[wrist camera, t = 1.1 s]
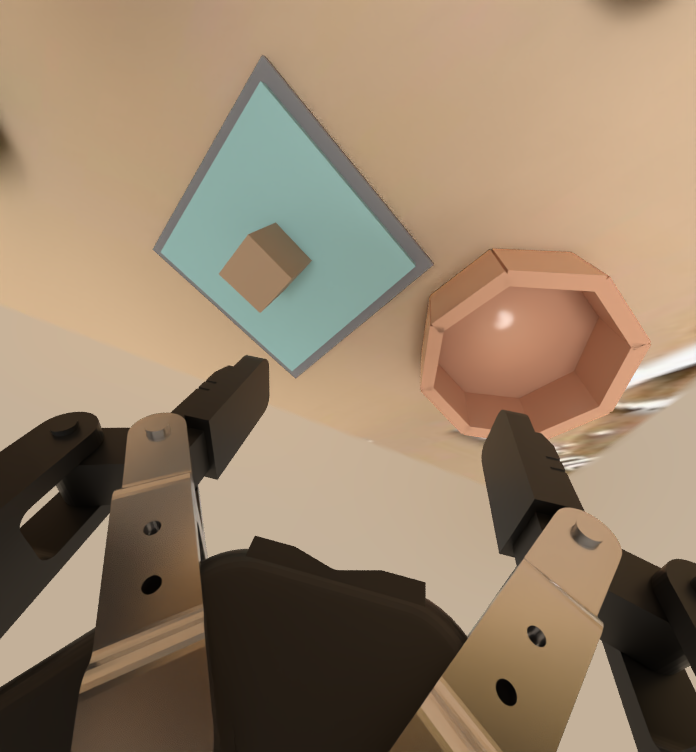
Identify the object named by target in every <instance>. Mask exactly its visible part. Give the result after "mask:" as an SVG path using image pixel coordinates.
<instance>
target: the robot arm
mask: <svg viewBox="0 0 696 752" xmlns="http://www.w3.org/2000/svg"><path fill="white" fill-rule="evenodd" d="M268 402H269V363H268V360H267V359H263V358H258V357H253V356H248V355H245V356H244V357H243V358H242V359H241V360H240V361H239V362H238V363H237V364H236V365H235V366H234V367H233V366H227V367H225V368H222V369H220V370H218V371H216V372H214V373H213V374H212V375H211V376H210V377H209V378H208V379H207V380H206V382H204V383H202V385H200V386H199V389H196V390H195V391H194V392H193V393H192V394H190V395H189V396H188V397H187V398H186V399H185V400H184V401H183V402H182V403H181V404H179V406H177V407H176V408H175V409H174V410H173V411H172V412H171V413H158V414H153V415H149V416H147V417H144V418H142V419H140V420H139V421H137V422H136V423H135V424H134V425H132V426H131V428H101V426H100V423H99V420H98V418H97V417H96V416H95V415H93V414H91V413H87V412H72V413H66V414H62V415H59V416H56V417H53V418H51V419H49V420H47V421H45V422H43V423H42V424H40V425H39V426H37V427H36V428H34V429H33V430H31V431H30V432H28V433H27V434H25V435H24V436H23V437H21V438H20V439H18V440H17V441H15V442H14V443H12V444H11V445H9V446H8V447H7V448H5V449H4V450H2V451H1V452H0V638H1V637H2V636H3V635H4V634H5V633H6V631H7V630H8V629H9V628H10V627H11V626H12V625H13V624H14V622H15V621H16V620H17V619H18V618H19V617H20V616H21V614H22V613H23V612H24V611H25V610H26V608H27V607H28V606H29V605H30V604H31V603H32V602H33V600H34V599H35V598H36V597H37V596H38V595H39V593H41V591H42V590H43V589H44V588H45V587H46V586H47V584H48V583H49V582H50V581H51V580H52V578H54V576H55V575H56V574H57V573H58V572H59V571H60V569H61V568H62V567H63V566H64V565H65V564H66V562H67V561H68V560H69V559H70V558H71V557H72V556H73V555H74V553H75V552H76V551H77V550H78V549H79V548H80V546H81V545H82V544H83V543H84V542H85V540H87V538H88V537H89V536H90V535H91V534H92V532H93V531H94V530H95V529H96V528H97V527H98V526H99V524H100V523H101V522H102V521H103V520H104V519H105V518H106V517H107V515H108V514H109V513H110V516H109V525H108V532H107V540H106V548H105V556H104V565H103V573H102V580H101V589H100V596H99V605H98V612H97V620H96V627H95V628H94V629H92V630H91V631H89V632H87V633H86V634H84V635H83V636H81V637H79V638H78V639H76V640H75V641H73V642H72V643H70V644H68V645H67V646H65V647H64V648H62V649H60V650H59V651H57V652H56V653H54V654H52V655H51V656H49V657H48V658H46V659H44V660H43V661H41V662H40V663H38V664H37V665H35V666H33V667H32V668H30V669H28V670H27V671H25V672H24V673H22V674H21V675H19V676H17V677H16V678H14V679H13V680H11V681H9V682H8V683H6V684H5V685H3V686H1V687H0V752H556V751H557V749H558V746H559V743H560V741H561V738H562V736H563V733H564V730H565V728H566V725H567V723H568V720H569V717H570V715H571V712H572V710H573V707H574V704H575V702H576V699H577V697H578V694H579V691H580V689H581V686H582V683H583V681H584V678H585V676H586V673H587V670H588V667H589V665H590V663H591V660H592V657H593V655H594V652H595V650H596V647H597V644H598V642H599V639H600V640H602V643H603V645H604V649H605V652H606V654H607V658H608V661H609V664H610V667H611V670H612V673H613V676H614V679H615V682H616V685H617V688H618V691H619V694H620V698H621V700H622V704H623V707H624V709H625V713H626V716H627V719H628V722H629V725H630V728H631V731H632V734H633V737H634V740H635V743H636V746H637V749H638V752H696V692H695V689H694V687H693V685H692V683H691V681H690V679H689V677H688V675H687V673H686V671H685V668H687V667H689V666H691V668H692V670H693V672H694V673H695V676H696V563H693V562H690V561H687V560H682V559H674V560H671V561H669V562H668V563H667V564H666V565H664V566H663V567H662V568H659V567H658V566H655V565H653V564H651V563H649V562H647V561H645V560H643V559H641V558H639V557H637V556H635V555H633V554H631V553H629V552H627V551H625V550H623V549H621V546H620V543H619V541H618V540H617V538H616V536H615V535H614V534H613V533H612V531H611V530H610V529H609V528H608V527H607V526H606V525H605V524H603V523H602V522H601V521H600V520H598V519H597V518H595V517H594V516H592V515H590V514H588V513H586V512H585V511H584V509H583V507H582V505H581V503H580V501H579V498H578V496H577V495H576V492H575V490H574V488H573V486H572V484H571V482H570V479H569V477H568V475H567V473H565V469H564V467H563V465H562V462H560V458H559V456H558V454H557V452H556V450H555V448H554V446H553V445H552V444H551V443H550V442H549V441H548V440H547V438H546V437H545V436H544V435H543V434H542V433H537V432H535V430H534V428H533V426H532V423H531V421H530V419H529V416H528V415H526V414H522V413H517V412H512V411H508V410H501V411H500V412H499V413H498V415H497V417H496V419H495V421H494V424H493V426H492V428H491V430H490V432H489V435H488V437H487V439H486V441H485V443H484V446H483V450H482V466H483V471H484V476H485V482H486V487H487V492H488V497H489V501H490V508H491V513H492V518H493V523H494V528H495V533H496V538H497V544H498V549H499V553H500V554H503V555H507V556H511V557H515V560H516V564H517V567H516V568H515V570H514V571H513V572H512V574H511V575H510V576H509V578H508V579H507V581H506V582H505V584H504V585H503V586H502V588H501V589H500V591H499V592H498V593H497V595H496V596H495V598H494V599H493V600H492V602H491V603H490V605H489V606H488V608H487V609H486V611H485V612H484V613H483V615H482V616H481V618H480V619H479V620H478V622H477V623H476V624H475V626H474V627H473V629H472V630H471V632H470V633H469V634H468V636H466V635H465V633H464V632H463V631H462V629H461V628H460V627H459V626H458V625H457V624H456V623H455V621H453V619H452V618H451V617H450V616H448V615H447V614H446V613H445V612H444V611H443V610H442V609H441V608H439V607H438V606H437V605H435V604H434V603H433V602H431V601H430V600H428V599H426V598H425V582H422V581H418V580H415V579H410V578H407V577H404V576H400V575H396V574H393V573H389V572H385V571H382V570H378V571H377V570H371V571H369V570H367V571H365V570H364V571H363V570H362V571H361V570H348V571H347V570H334V569H332V568H330V567H328V566H327V565H325V564H323V563H322V562H320V561H318V560H317V559H315V558H313V557H311V556H310V555H308V554H306V553H305V552H303V551H301V550H300V549H298V548H296V547H294V546H291V545H287V544H283V543H279V542H275V541H272V540H269V539H265V538H261V537H257V536H255V537H254V539H253V541H252V543H251V545H250V547H249V549H240V550H232V551H227V552H224V553H220V554H217V555H215V556H212V557H209V558H208V555H207V549H206V543H205V535H204V527H203V519H202V511H201V502H200V494H199V488H198V484H199V483H200V481H201V480H202V479H203V477H204V476H205V477H209V478H213V479H218V478H219V477H220V475H221V474H222V472H223V471H224V470H225V468H226V467H227V465H228V464H229V462H230V461H231V459H232V458H233V457H234V455H235V454H236V452H237V451H238V449H239V448H240V446H241V445H242V444H243V442H244V441H245V439H246V438H247V436H248V435H249V434H250V432H251V431H252V429H253V428H254V426H255V425H256V424H257V422H258V421H259V419H260V418H261V416H262V415H263V413H264V412H265V410H266V408H267V405H268ZM55 485H56V486H57V488H58V490H59V493H58V494H57V495H55V496H54V497H53V498H52V499H51V500H50V501H49V502H48V503H47V504H46V505H45V506H43V508H41V509H40V510H39V511H38V512H37V513H36V514H35V515H34V516H33V517H32V518H30V519H29V520H28V521H27V522H26V523H25V524H24V525H23V526H22V527H21V528H20V523H21V520H22V518H23V516H24V515H25V513H26V512H27V511H28V510H29V509H30V508H31V507H32V506H33V505H34V504H35V503H36V502H37V501H39V500H40V499H41V498H42V497H43V496H44V495H45V494H46V493H48V491H50V490H51V489H52V488H53V487H54V486H55Z"/></svg>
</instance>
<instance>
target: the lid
mask: <svg viewBox="0 0 696 752" xmlns="http://www.w3.org/2000/svg"><path fill="white" fill-rule="evenodd" d="M161 253H162V254H163V255H164V256H165V257H166V258H167V259H168V260H170V261H171V262H172V263H173V264H174V265H175V266H176V267H177V268H178V269H180V270H181V271H182V272H183V273H184V274H185V275H186V276H187V277H188V278H189V279H191V280H192V281H193V282H194V283H195V284H196V285H197V286H198V287H199V288H200V289H202V290H203V291H204V292H205V293H206V294H207V295H208V296H209V297H210V298H211V299H213V300H214V301H215V302H216V303H217V304H218V305H219V306H220V307H221V308H222V309H224V310H225V311H226V312H227V313H228V314H229V315H230V316H231V317H232V318H234V319H235V320H236V321H237V322H238V323H239V324H240V325H241V326H242V327H243V328H245V329H246V330H247V331H248V332H249V333H250V334H251V335H252V336H253V337H254V338H256V339H257V340H258V341H259V342H260V343H261V344H262V345H263V346H264V347H265V348H267V349H268V350H269V351H270V352H271V353H272V354H273V355H274V356H275V357H277V358H278V359H279V360H280V361H281V362H282V363H283V364H284V365H285V366H286V367H288V368H289V369H290V370H291V371H293V370H294V369H295V368H297V367H298V366H299V365H300V364H301V363H302V362H304V361H305V360H306V359H307V358H308V357H309V356H311V355H312V354H313V353H314V352H315V351H317V350H318V349H319V348H320V347H321V346H322V345H324V344H325V343H326V342H327V341H328V340H329V339H331V338H332V337H333V336H334V335H335V334H337V333H338V332H339V331H340V330H341V329H342V328H344V327H345V326H346V325H347V324H348V323H349V322H351V321H352V320H353V319H354V318H355V317H357V316H358V315H359V314H360V313H361V312H362V311H364V310H365V309H366V308H367V307H368V306H369V305H371V304H372V303H373V302H374V301H375V300H377V299H378V298H379V297H380V296H381V295H382V294H384V293H385V292H386V291H387V290H388V289H389V288H391V287H392V286H393V285H394V284H395V283H397V282H398V281H399V280H400V279H401V278H402V277H404V276H405V275H406V274H407V273H408V272H410V271H411V270H412V269H413V268H414V267H415V265H416V264H415V262H414V261H413V260H412V259H411V258H410V256H409V255H408V254H407V253H406V252H405V250H404V249H403V248H402V247H401V246H400V244H399V243H398V242H397V241H396V240H395V238H394V237H393V236H392V235H391V234H390V232H389V231H388V230H387V229H386V228H385V226H384V225H383V224H382V223H381V222H380V220H379V219H378V218H377V217H376V216H375V214H374V213H373V212H372V211H371V210H370V208H369V207H368V206H367V205H366V204H365V202H364V201H363V200H362V199H361V198H360V196H359V195H358V194H357V193H356V192H355V190H354V189H353V188H352V187H351V186H350V184H349V183H348V182H347V181H346V180H345V178H344V177H343V176H342V175H341V174H340V172H339V171H338V170H337V169H336V168H335V166H334V165H333V164H332V163H331V162H330V160H329V159H328V158H327V157H326V156H325V154H324V153H323V152H322V151H321V150H320V148H319V147H318V146H317V145H316V144H315V142H314V141H313V140H312V139H311V138H310V136H309V135H308V134H307V133H306V132H305V130H304V129H303V128H302V127H301V126H300V124H299V123H298V122H297V121H296V120H295V118H294V117H293V116H292V115H291V114H290V112H289V111H288V110H287V109H286V108H285V106H284V105H283V104H282V103H281V102H280V100H279V99H278V98H277V97H276V96H275V94H274V93H273V92H272V91H271V90H270V88H269V87H268V86H267V85H266V84H265V83H263V82H261V81H260V83H259V84H258V86H257V88H256V90H255V91H254V93H253V95H252V96H251V98H250V100H249V102H248V103H247V105H246V107H245V108H244V110H243V112H242V114H241V115H240V117H239V119H238V120H237V122H236V124H235V126H234V127H233V129H232V131H231V132H230V134H229V136H228V137H227V139H226V141H225V143H224V144H223V146H222V148H221V149H220V151H219V153H218V155H217V156H216V158H215V160H214V161H213V163H212V165H211V167H210V168H209V170H208V172H207V173H206V175H205V177H204V179H203V180H202V182H201V184H200V185H199V187H198V189H197V191H196V192H195V194H194V196H193V197H192V199H191V201H190V203H189V204H188V206H187V208H186V209H185V211H184V213H183V215H182V216H181V218H180V220H179V221H178V223H177V225H176V227H175V228H174V230H173V232H172V233H171V235H170V237H169V239H168V240H167V242H166V244H165V245H164V247H163V249H162V251H161Z"/></svg>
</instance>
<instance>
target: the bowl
mask: <svg viewBox="0 0 696 752" xmlns="http://www.w3.org/2000/svg"><path fill="white" fill-rule="evenodd" d="M430 296H431V297H429V303H428V310H427V317H426V324H425V331H424V338H423V344H422V351H421V381H420V390H421V392H422V393H423V394H424V395H425V396H426V397H427V398H428V399H429V400H430V401H431V402H432V403H433V404H434V406H435V407H436V408H437V409H438V410H439V411H440V412H441V413H442V414H443V415H444V416H445V417H446V418H447V419H448V420H449V421H450V422H451V423H452V424H453V425H454V426H455V427H456V428H457V429H458V430H459V431H460V433H461V434H463V433H464V435H468V436H476V437H483V438H487V437H488V435H489V432H490V430H491V428H492V426H493V424H494V421H495V419H496V417H497V415H498V413H499V412H500V411H501V410H508V411H512V412H517V413H522V414H526V415H528V416H529V419H530V421H531V423H532V426H533V428H534V430H535V432H537V433H542V434H543V435H544V436H545V437H546V438H547V439H549V438H552V437H554V436H557V435H559V434H561V433H564V432H566V431H569V430H571V429H573V428H576V427H578V426H581V425H583V424H585V423H588V422H590V421H593V420H595V419H598V418H600V417H602V416H605V415H607V414H610V412H609V411H611V412H612V411H613V410H614V408H615V406H616V404H617V403H618V401H619V399H620V397H621V396H622V394H623V392H624V391H625V389H626V387H627V385H628V384H629V382H630V380H631V378H632V377H633V375H634V373H635V371H636V370H637V368H638V366H639V365H640V363H641V361H642V359H643V358H644V356H645V354H646V352H647V351H648V349H649V347H650V346H651V344H650V343H651V341H650V340H649V338H648V336H647V335H646V333H645V332H644V330H643V328H642V327H641V325H640V324H639V322H638V320H637V319H636V317H635V316H634V314H633V312H632V311H631V309H630V308H629V306H628V305H627V303H626V301H625V300H624V298H623V297H622V295H621V293H620V292H619V290H618V289H617V287H616V285H615V284H614V282H613V281H612V279H611V277H609V276H608V275H606V274H605V273H603V272H602V271H600V270H599V269H597V268H596V267H594V266H593V265H591V264H589V263H588V262H586V261H585V260H583V259H582V258H580V257H579V256H577V255H576V254H574V253H572V252H559V251H537V250H515V249H493V248H492V251H491V250H488V251H487V252H486V253H484V254H483V255H482V256H481V257H479V258H478V259H477V260H475V261H474V262H473V263H472V264H470V265H469V266H468V267H466V268H465V269H464V270H462V271H461V272H460V273H459V274H457V275H456V276H455V277H453V278H452V279H451V280H450V281H448V282H447V283H446V284H444V285H443V286H442V287H440V288H439V289H438V290H437V291H435V292H434V293H433V294H431V295H430Z"/></svg>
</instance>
